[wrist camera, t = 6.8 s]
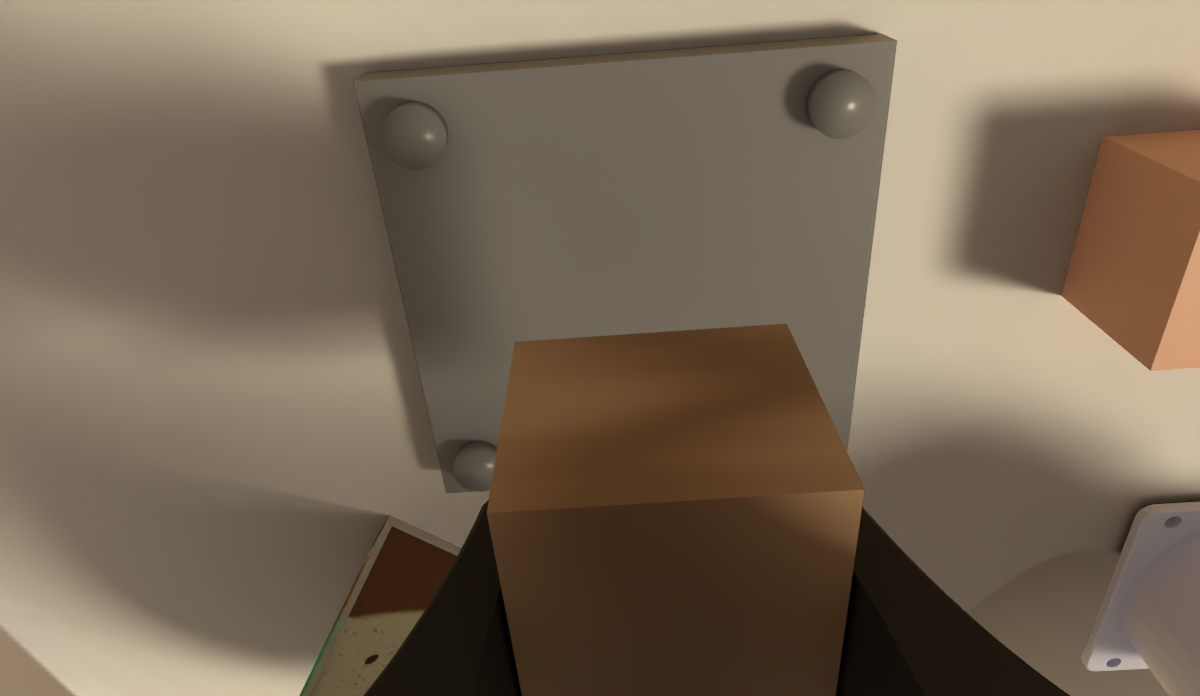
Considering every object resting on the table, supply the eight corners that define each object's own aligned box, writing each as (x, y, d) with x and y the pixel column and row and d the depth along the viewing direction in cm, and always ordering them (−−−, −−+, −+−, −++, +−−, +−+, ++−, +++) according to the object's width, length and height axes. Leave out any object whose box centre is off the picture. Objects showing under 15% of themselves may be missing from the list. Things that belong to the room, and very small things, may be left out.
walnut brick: (787, 323, 12) (865, 489, 9) (770, 584, 15) (823, 783, 12) (515, 341, 12) (486, 512, 9) (552, 597, 15) (542, 798, 12)
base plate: (881, 33, 17) (907, 45, 16) (835, 446, 24) (851, 481, 22) (364, 73, 18) (346, 88, 16) (451, 471, 24) (443, 506, 22)
